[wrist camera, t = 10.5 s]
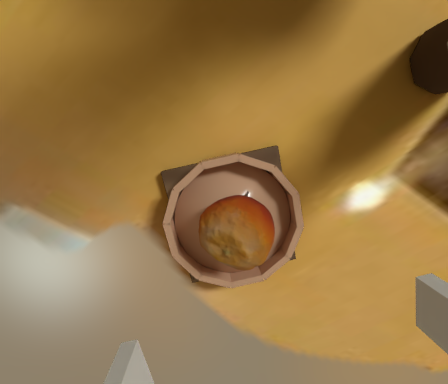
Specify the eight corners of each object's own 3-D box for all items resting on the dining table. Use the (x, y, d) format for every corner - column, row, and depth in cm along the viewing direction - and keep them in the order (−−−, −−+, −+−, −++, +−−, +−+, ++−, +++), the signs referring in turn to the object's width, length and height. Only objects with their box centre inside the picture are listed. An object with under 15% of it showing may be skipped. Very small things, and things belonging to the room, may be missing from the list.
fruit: (296, 220, 26) (286, 274, 20) (243, 239, 31) (222, 288, 24) (256, 165, 24) (231, 205, 18) (207, 193, 29) (173, 233, 23)
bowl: (153, 171, 26) (147, 174, 24) (284, 141, 26) (291, 141, 24) (187, 285, 30) (184, 298, 27) (302, 259, 30) (310, 270, 27)
